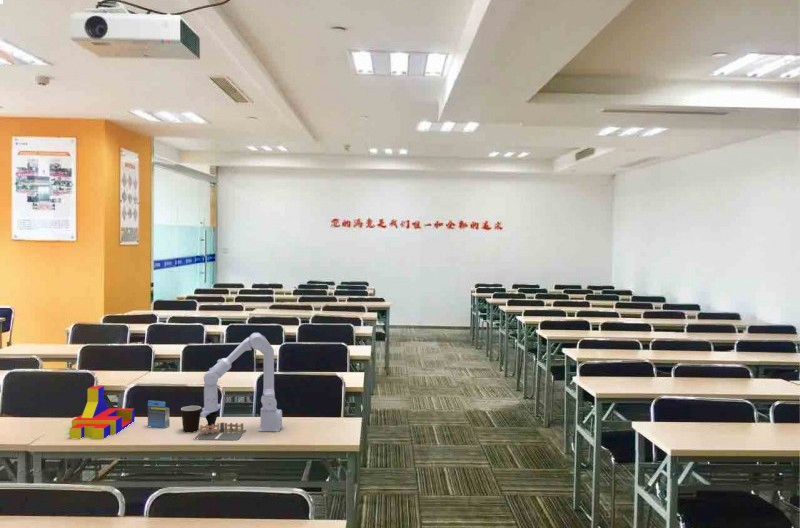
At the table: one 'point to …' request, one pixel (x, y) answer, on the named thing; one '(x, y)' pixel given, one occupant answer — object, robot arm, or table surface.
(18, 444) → the table surface
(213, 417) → the robot arm
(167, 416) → the label tape box
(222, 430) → the fixed fence
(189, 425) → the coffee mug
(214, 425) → the fence panel
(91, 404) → the building blocks toy
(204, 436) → the mat
